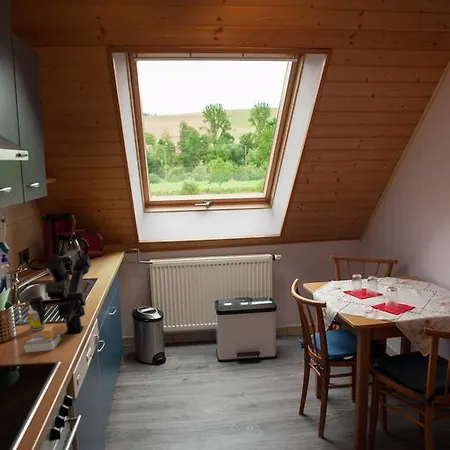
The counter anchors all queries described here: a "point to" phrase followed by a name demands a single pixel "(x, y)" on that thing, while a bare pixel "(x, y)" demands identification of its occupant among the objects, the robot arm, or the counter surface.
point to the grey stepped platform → (41, 343)
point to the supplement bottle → (34, 320)
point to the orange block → (48, 333)
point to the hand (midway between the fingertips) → (54, 322)
